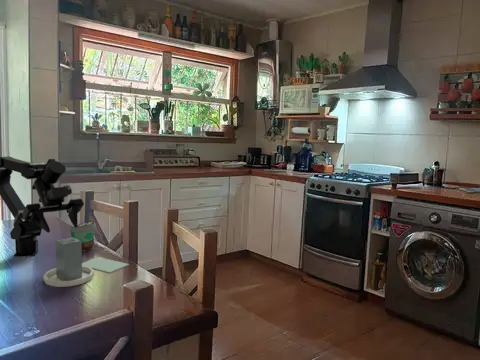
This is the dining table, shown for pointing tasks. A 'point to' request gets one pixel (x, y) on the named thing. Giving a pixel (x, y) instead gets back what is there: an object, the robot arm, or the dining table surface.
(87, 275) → the ceramic dish
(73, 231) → the food container
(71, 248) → the tea tin
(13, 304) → the dining table surface
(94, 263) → the rubber mat
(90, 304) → the dining table surface
